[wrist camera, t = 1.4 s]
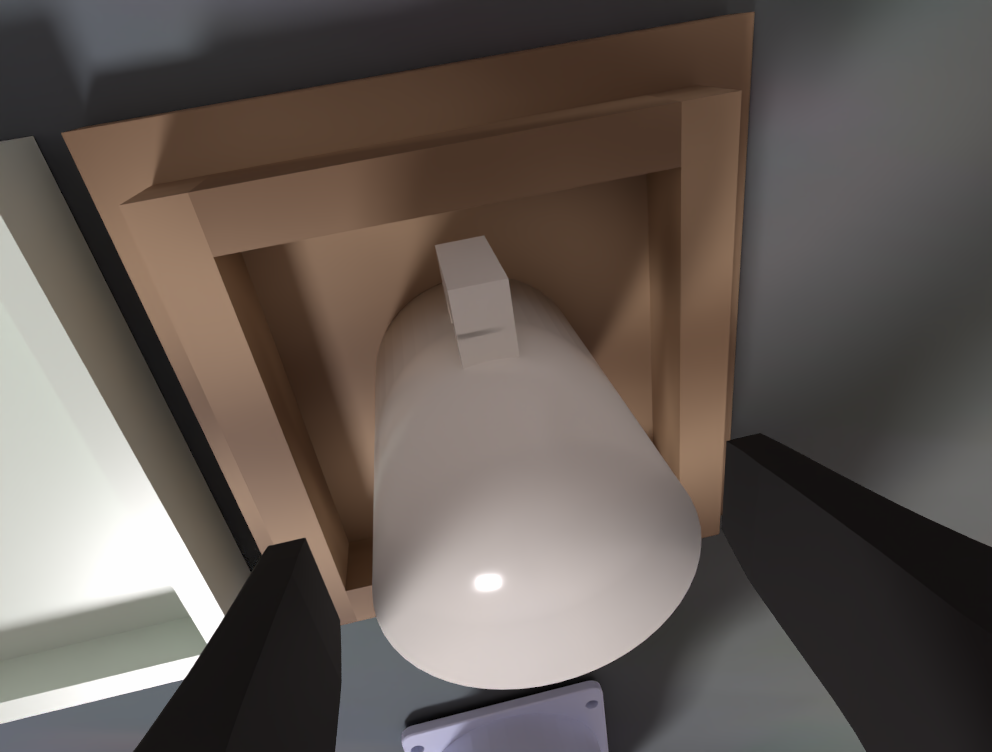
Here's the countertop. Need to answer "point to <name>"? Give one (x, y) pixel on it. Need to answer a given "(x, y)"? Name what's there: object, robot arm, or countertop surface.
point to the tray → (90, 478)
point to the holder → (412, 255)
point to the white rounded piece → (514, 490)
